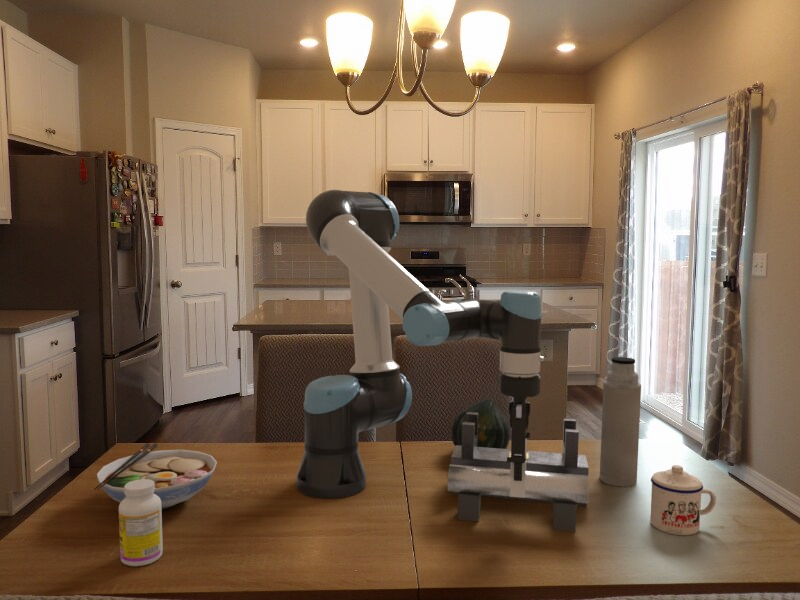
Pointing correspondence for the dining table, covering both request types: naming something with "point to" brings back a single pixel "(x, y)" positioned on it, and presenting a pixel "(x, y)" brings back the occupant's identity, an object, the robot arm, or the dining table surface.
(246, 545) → the dining table surface
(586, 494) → the tube
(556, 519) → the posts
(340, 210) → the robot arm
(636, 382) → the thermos bottle
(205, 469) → the ramen bowl
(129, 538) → the supplement bottle
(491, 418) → the squash
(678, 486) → the teacup with lid
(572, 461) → the grey cradle stand
